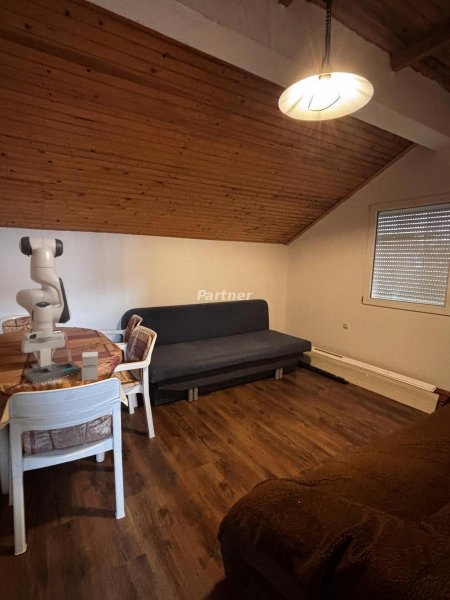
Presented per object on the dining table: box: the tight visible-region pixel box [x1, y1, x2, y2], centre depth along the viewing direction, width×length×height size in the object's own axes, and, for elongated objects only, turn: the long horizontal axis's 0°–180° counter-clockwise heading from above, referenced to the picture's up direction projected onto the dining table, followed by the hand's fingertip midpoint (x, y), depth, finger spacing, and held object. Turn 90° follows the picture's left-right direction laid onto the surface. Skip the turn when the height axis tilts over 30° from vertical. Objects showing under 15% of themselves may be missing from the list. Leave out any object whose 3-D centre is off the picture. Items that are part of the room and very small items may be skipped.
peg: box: [37, 349, 52, 367], centre depth 161 cm, size 5×5×9 cm
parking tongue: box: [30, 360, 57, 368], centre depth 161 cm, size 9×10×1 cm
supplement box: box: [81, 351, 99, 382], centre depth 150 cm, size 7×7×13 cm
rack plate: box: [23, 360, 82, 385], centre depth 152 cm, size 14×22×3 cm, turn 138°
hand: (44, 357), depth 161 cm, fingers closed on peg, 5 cm apart
